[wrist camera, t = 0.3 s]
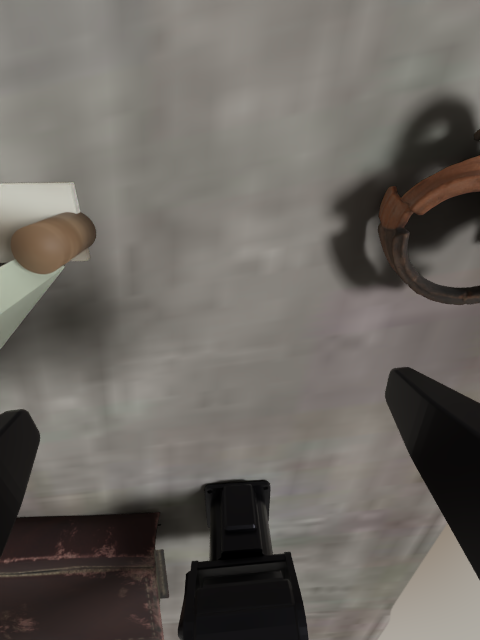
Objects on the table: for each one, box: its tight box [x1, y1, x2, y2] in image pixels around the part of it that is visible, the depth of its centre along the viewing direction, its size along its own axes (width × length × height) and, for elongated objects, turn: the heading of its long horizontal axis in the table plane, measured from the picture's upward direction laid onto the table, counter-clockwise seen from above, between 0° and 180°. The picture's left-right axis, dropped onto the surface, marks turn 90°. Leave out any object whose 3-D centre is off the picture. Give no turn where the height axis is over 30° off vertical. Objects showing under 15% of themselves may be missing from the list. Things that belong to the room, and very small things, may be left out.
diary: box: [0, 512, 169, 640], centre depth 35 cm, size 19×25×5 cm
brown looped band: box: [378, 129, 480, 305], centre depth 19 cm, size 12×10×8 cm
